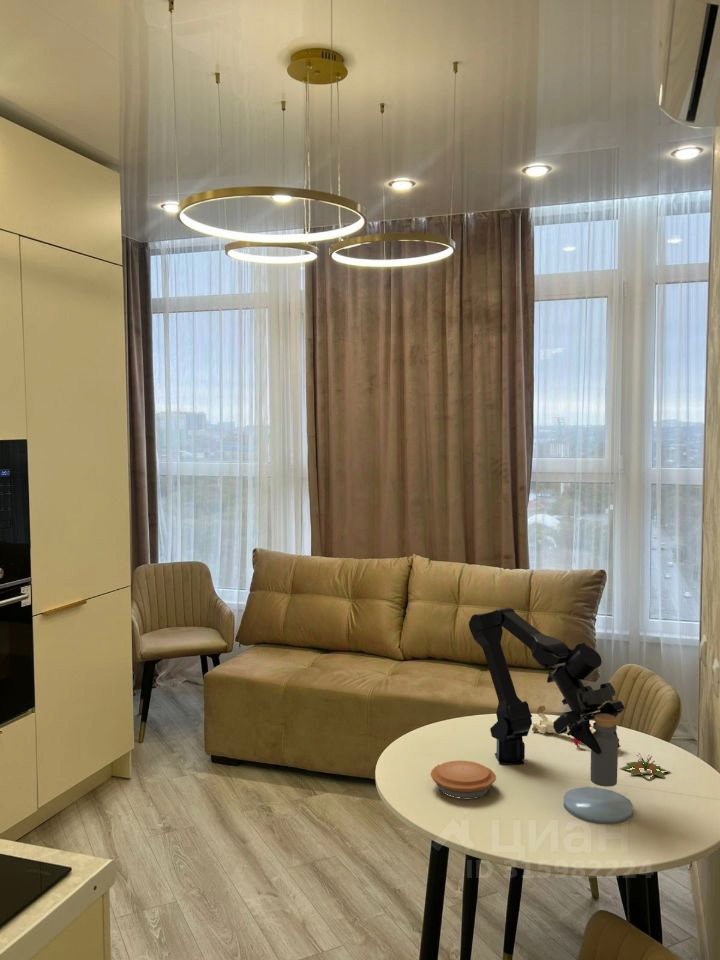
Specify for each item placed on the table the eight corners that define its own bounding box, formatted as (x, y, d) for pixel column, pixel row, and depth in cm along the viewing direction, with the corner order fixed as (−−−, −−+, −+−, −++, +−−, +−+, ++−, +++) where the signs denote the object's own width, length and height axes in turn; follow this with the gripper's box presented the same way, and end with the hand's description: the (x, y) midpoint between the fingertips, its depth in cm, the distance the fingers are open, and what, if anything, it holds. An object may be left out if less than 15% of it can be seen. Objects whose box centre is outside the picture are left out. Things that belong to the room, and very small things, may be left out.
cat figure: (528, 739, 227) (609, 756, 209) (526, 708, 227) (607, 722, 209) (547, 730, 234) (627, 746, 216) (545, 700, 234) (625, 713, 216)
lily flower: (680, 775, 199) (681, 757, 199) (650, 787, 193) (651, 768, 193) (640, 759, 209) (640, 742, 209) (610, 770, 203) (610, 752, 203)
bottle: (621, 780, 182) (622, 716, 181) (610, 789, 177) (612, 723, 176) (596, 773, 186) (598, 710, 185) (586, 782, 181) (587, 717, 180)
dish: (574, 824, 173) (575, 817, 173) (555, 793, 188) (555, 787, 188) (642, 822, 173) (643, 816, 173) (618, 792, 188) (618, 786, 188)
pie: (450, 770, 201) (450, 751, 201) (506, 786, 192) (506, 765, 192) (418, 792, 189) (418, 771, 189) (477, 810, 180) (477, 788, 180)
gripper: (563, 678, 179) (600, 742, 170) (619, 666, 188) (657, 726, 180) (537, 702, 186) (572, 765, 177) (593, 689, 195) (628, 748, 187)
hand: (609, 750), depth 180 cm, fingers closed on bottle, 6 cm apart
